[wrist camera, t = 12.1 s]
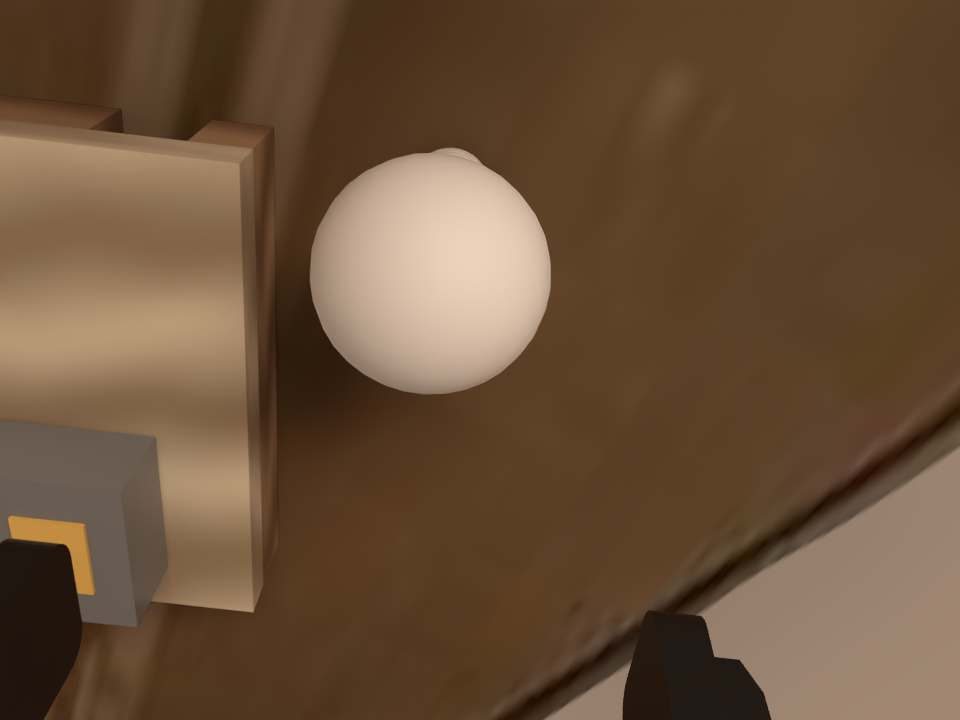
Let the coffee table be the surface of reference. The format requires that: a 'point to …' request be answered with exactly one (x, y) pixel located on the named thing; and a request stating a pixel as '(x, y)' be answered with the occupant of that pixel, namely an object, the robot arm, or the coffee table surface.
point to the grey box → (88, 511)
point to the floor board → (150, 319)
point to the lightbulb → (430, 272)
